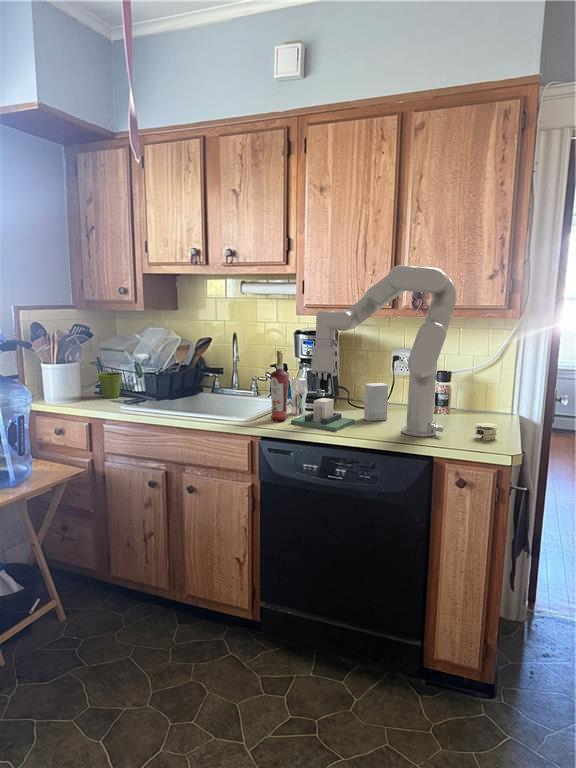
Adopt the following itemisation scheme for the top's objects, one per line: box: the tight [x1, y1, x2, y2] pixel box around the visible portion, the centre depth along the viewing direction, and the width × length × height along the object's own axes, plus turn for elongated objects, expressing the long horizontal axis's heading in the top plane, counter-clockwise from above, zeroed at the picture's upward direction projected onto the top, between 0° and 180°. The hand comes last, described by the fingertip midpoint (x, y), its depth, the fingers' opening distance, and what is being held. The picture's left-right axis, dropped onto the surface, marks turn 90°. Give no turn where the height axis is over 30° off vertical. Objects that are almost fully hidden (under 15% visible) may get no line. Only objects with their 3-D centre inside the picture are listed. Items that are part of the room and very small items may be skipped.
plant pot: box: [96, 371, 124, 399], centre depth 252 cm, size 12×12×11 cm
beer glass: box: [290, 377, 308, 416], centre depth 223 cm, size 7×7×15 cm
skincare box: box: [363, 382, 389, 422], centre depth 215 cm, size 8×6×15 cm
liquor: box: [270, 350, 290, 422], centre depth 210 cm, size 7×7×28 cm
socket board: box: [290, 412, 356, 432], centre depth 208 cm, size 20×16×4 cm
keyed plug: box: [313, 397, 335, 423], centre depth 207 cm, size 5×9×8 cm, turn 147°
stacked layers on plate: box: [474, 422, 498, 441], centre depth 190 cm, size 10×9×6 cm
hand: (323, 389), depth 206 cm, fingers closed
